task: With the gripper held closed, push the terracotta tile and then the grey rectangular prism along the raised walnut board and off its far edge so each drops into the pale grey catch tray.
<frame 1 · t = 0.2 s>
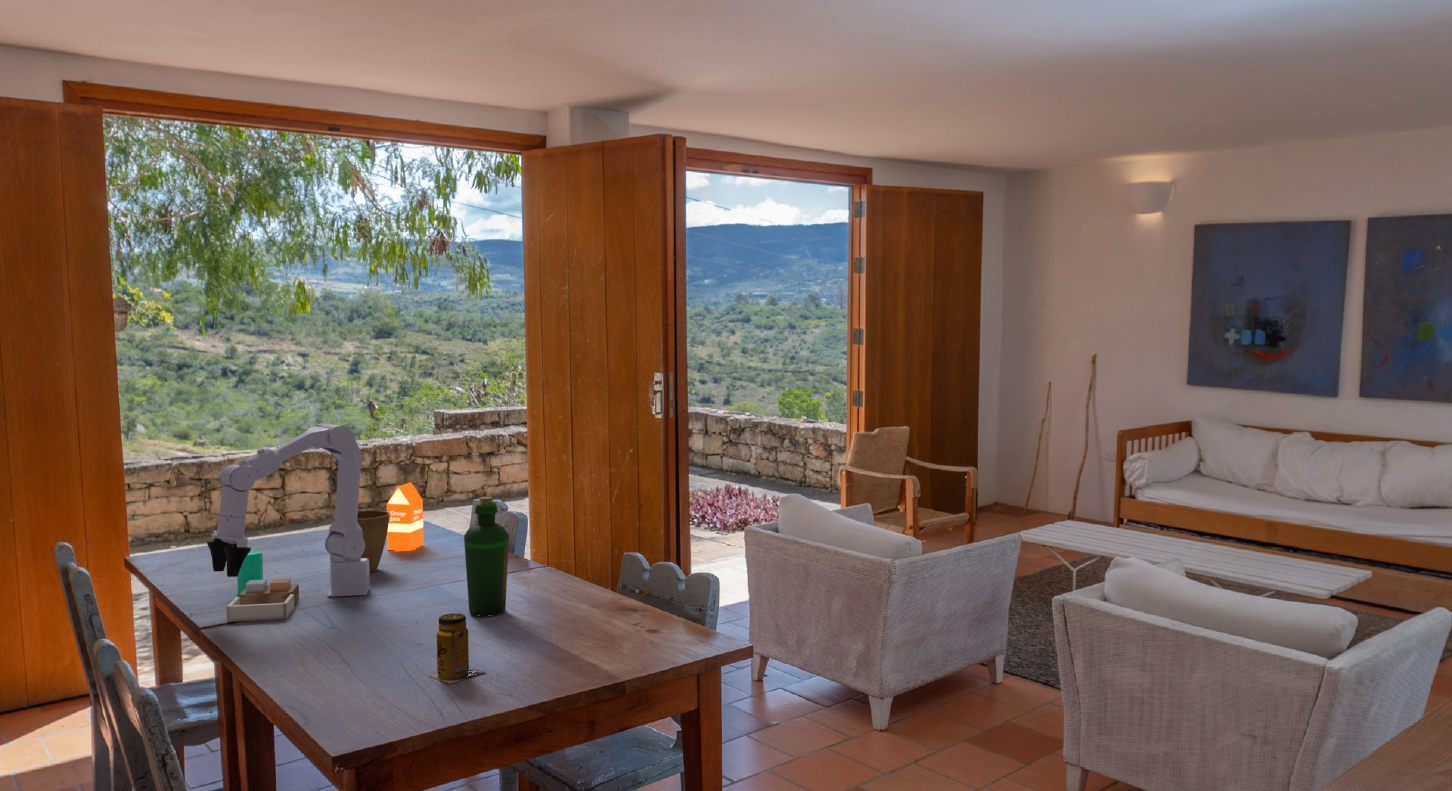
hand: (225, 573, 235), 11 cm above the table, tool pointing down, fingers open, 7 cm apart
bottle: (487, 613, 242), on the table
condiment: (457, 675, 199), on the table
grey rectangular prism: (256, 589, 246), point 4 cm above the table, touching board
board: (269, 605, 247), on the table
tray: (261, 615, 239), on the table
candle: (250, 593, 259), on the table
orange juice: (405, 548, 311), on the table
plant pot: (363, 571, 283), on the table
tile terracotta: (280, 588, 247), point 4 cm above the table, touching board
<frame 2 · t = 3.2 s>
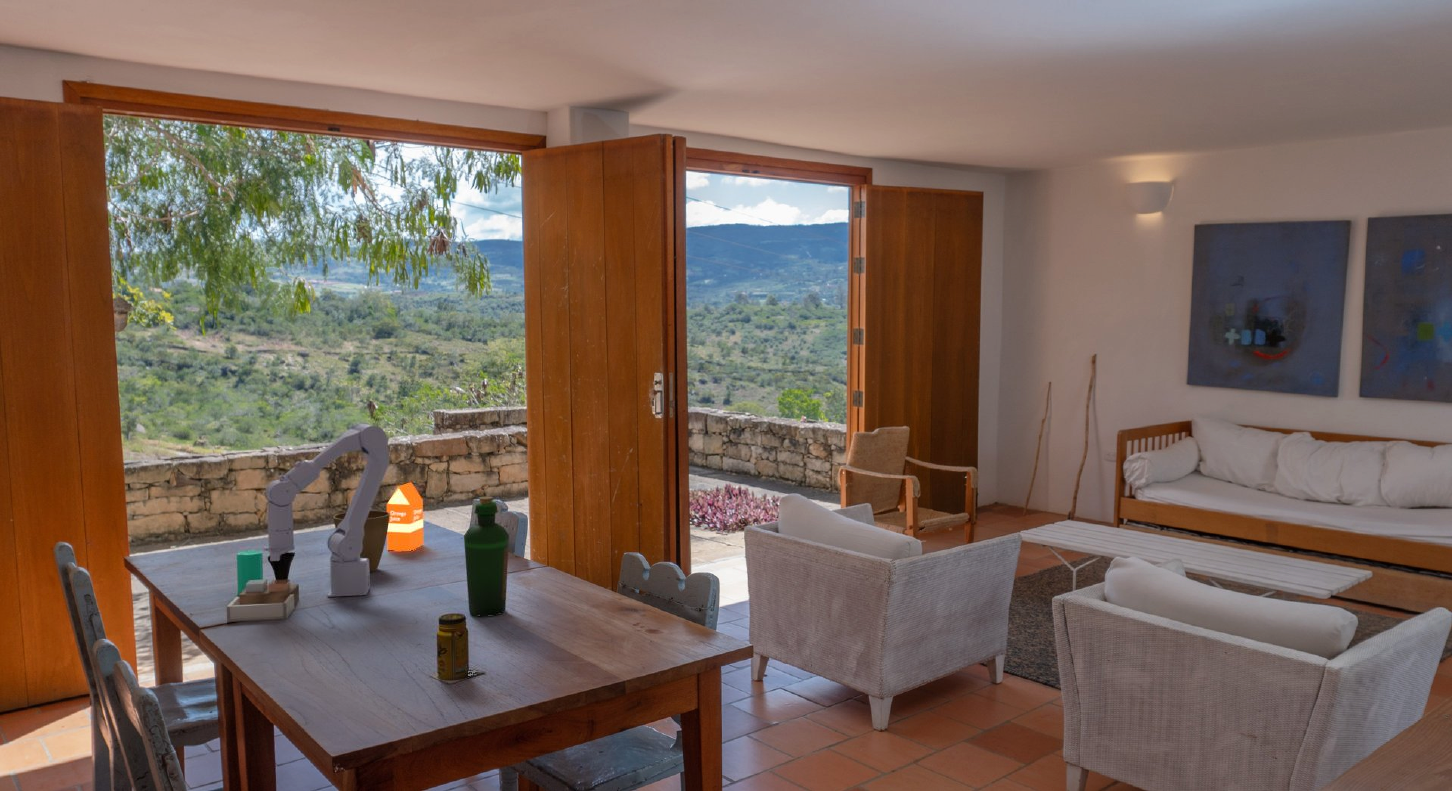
hand: (282, 583, 249), 5 cm above the table, tool pointing down, fingers closed
tile terracotta: (279, 589, 246), point 4 cm above the table, touching gripper
everything else where it was.
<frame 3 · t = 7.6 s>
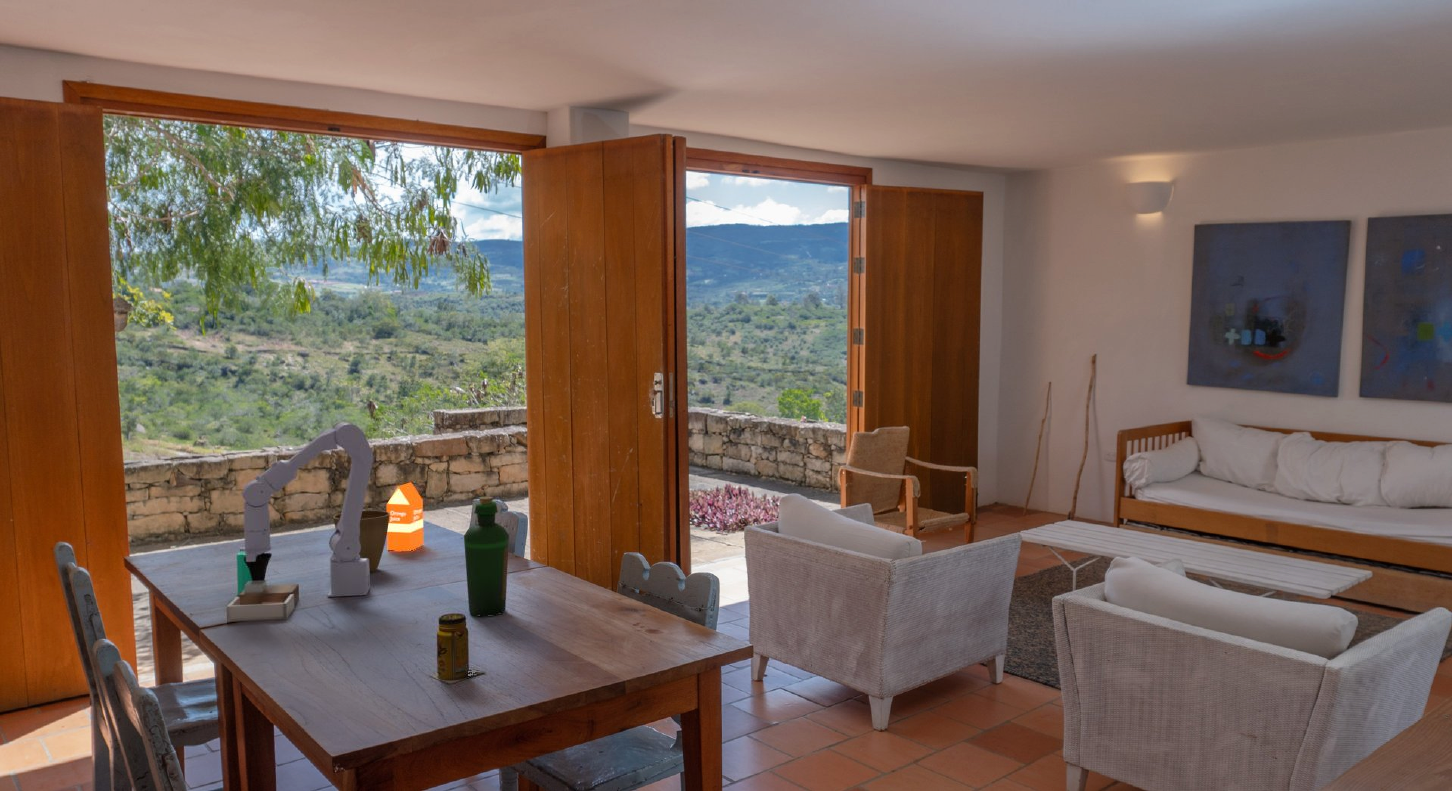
hand: (258, 583, 248), 5 cm above the table, tool pointing down, fingers closed
grey rectangular prism: (255, 590, 245), point 4 cm above the table, touching gripper
tile terracotta: (273, 602, 238), point 3 cm above the table, tilted 159°, touching tray
everything else where it was.
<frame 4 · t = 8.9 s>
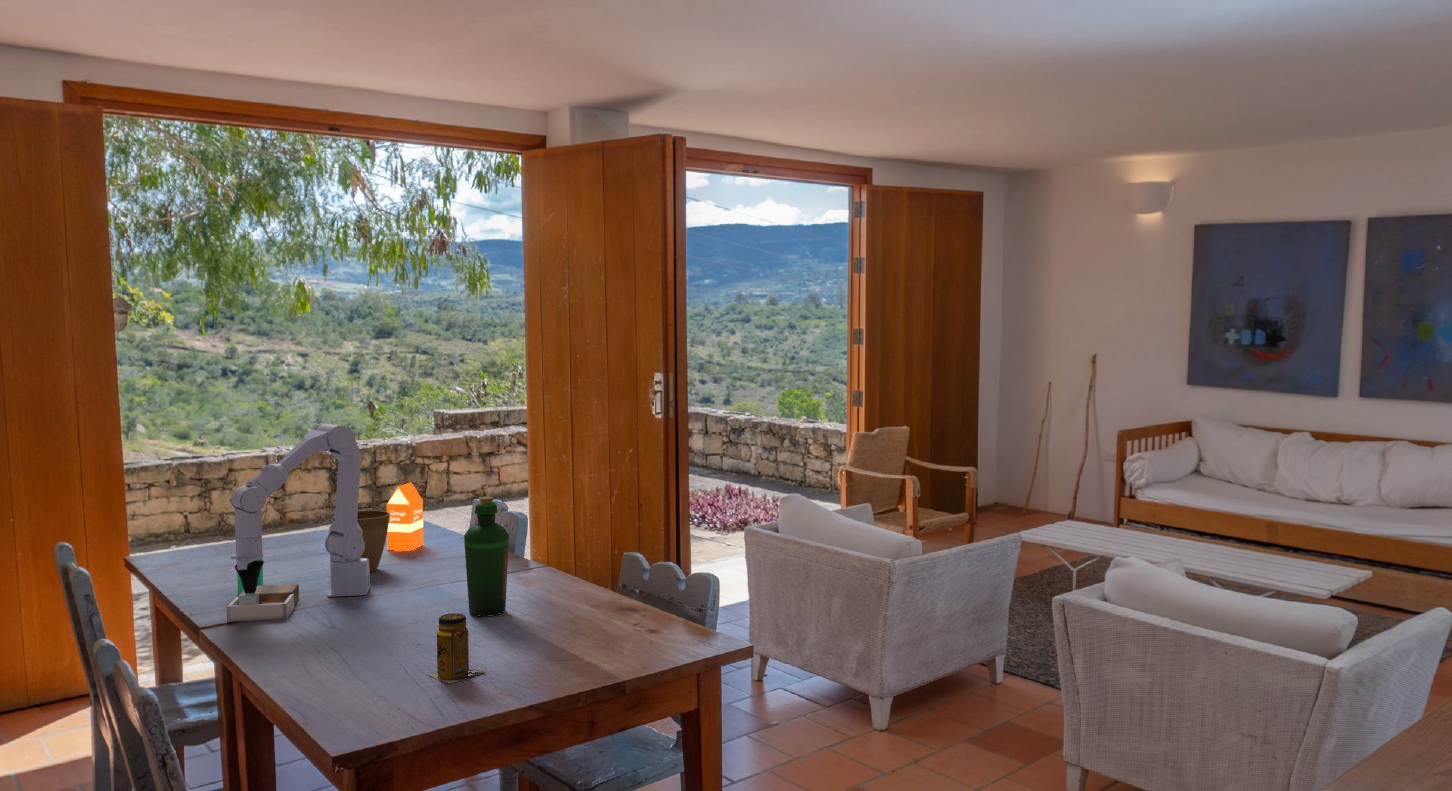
hand: (250, 592, 240), 5 cm above the table, tool pointing down, fingers closed
grey rectangular prism: (250, 601, 241), point 3 cm above the table, tilted 90°, touching tray
everything else where it was.
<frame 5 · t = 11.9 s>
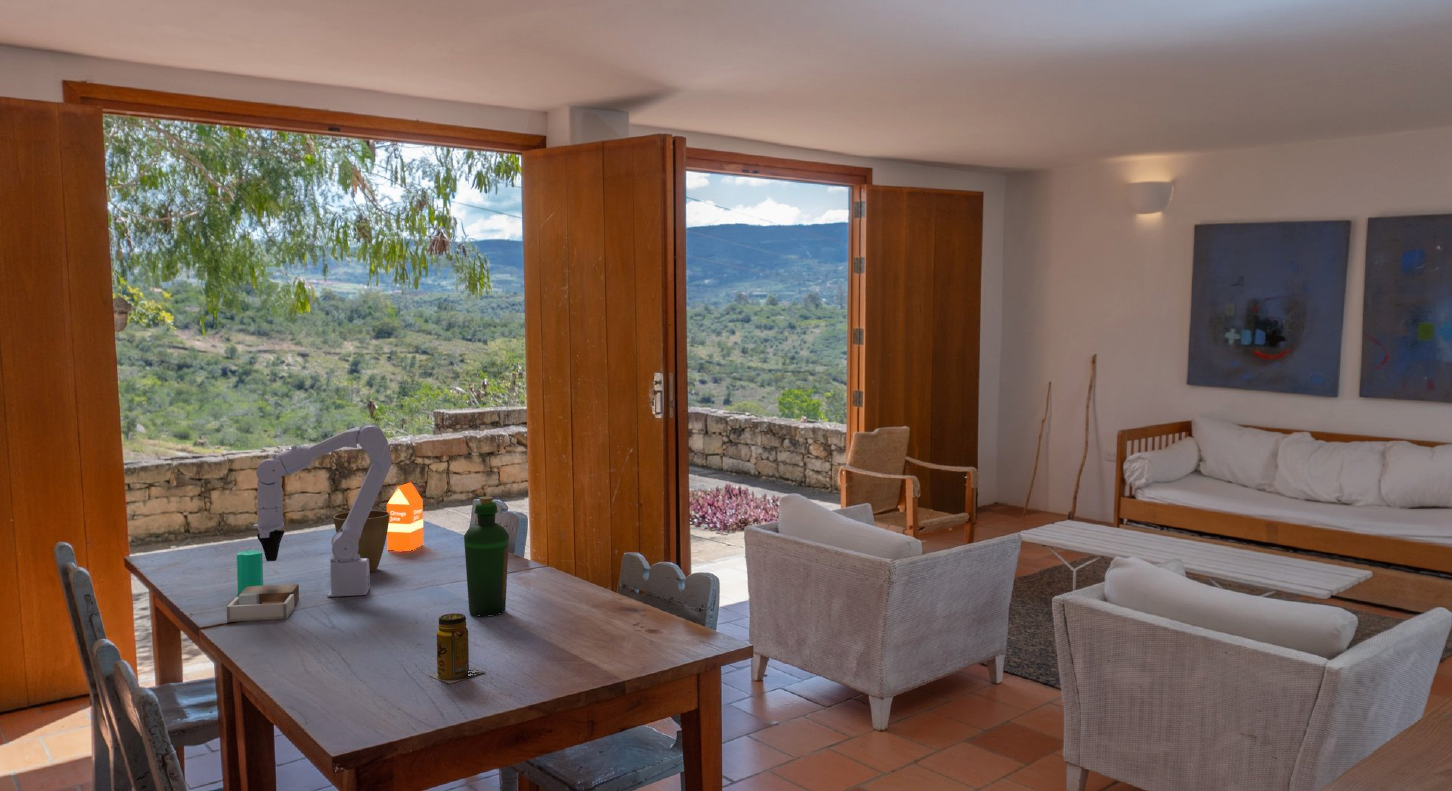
hand: (271, 560, 252), 10 cm above the table, tool pointing down, fingers closed
nothing on the table moved.
at the end: tile terracotta inside the target area on the tray (3.1 cm from its centre), point 3.2 cm above the tray's base; grey rectangular prism inside the target area on the tray (4.2 cm from its centre), point 2.6 cm above the tray's base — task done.
